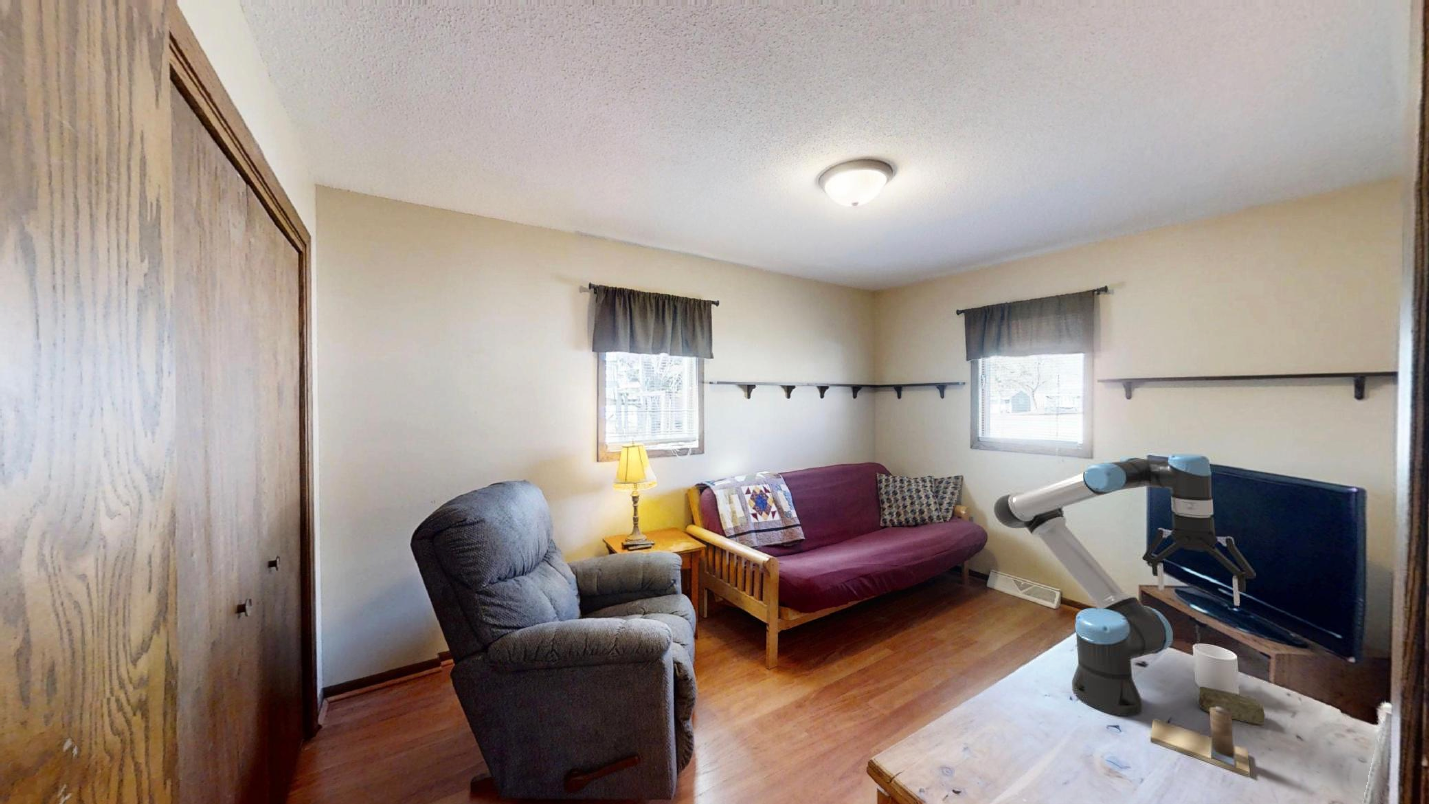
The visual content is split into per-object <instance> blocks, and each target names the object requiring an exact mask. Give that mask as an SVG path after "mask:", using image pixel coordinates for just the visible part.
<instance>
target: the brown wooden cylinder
mask: <svg viewBox="0 0 1429 804" xmlns="http://www.w3.org/2000/svg"><path fill="white" fill-rule="evenodd" d="M1209 720H1210V732H1211V733H1210V734H1211V736H1210V737H1212V748H1213V749H1214V750H1215V751H1216V752H1218V753H1220V754H1222V755H1225V756H1234V748H1233V745H1234V737H1233V723H1232V722H1233V721H1232V720H1233V719H1231V714H1230V713H1229V712H1227V711H1225V710H1224V709H1223V708H1221V707H1211V708H1210V713H1209Z"/></svg>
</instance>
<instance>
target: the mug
mask: <svg viewBox="0 0 1429 804" xmlns="http://www.w3.org/2000/svg"><path fill="white" fill-rule="evenodd" d="M1192 653H1193V654H1192V655H1193V669H1194V671H1193V672H1194V681H1195V684H1196V686H1198V687H1199V688H1200V687H1206V688H1211V689H1215V690H1220V691H1225V692H1230V693H1234V694H1239V695H1240V681H1239V665H1238V656H1237V654H1236V653H1234V652H1233V651H1231V650H1229V649H1226V648H1223V647H1221V646H1218V645H1213V644H1208V643H1195V644H1193V645H1192Z"/></svg>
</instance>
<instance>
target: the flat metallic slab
mask: <svg viewBox="0 0 1429 804" xmlns="http://www.w3.org/2000/svg"><path fill="white" fill-rule="evenodd" d="M1152 719H1153V720H1152V723H1151V725H1152V726H1151V731H1150V742H1151V743H1154V744H1156V745H1159V746H1162V747H1164V748H1167V749H1170V750H1173V751H1177V752H1178V753H1181V754H1184V755H1187V756H1190V757H1193V758H1195V759H1199V760H1201V761H1204V762H1206V763H1209V764H1212V765H1215V766H1217V767H1220V768H1223V769H1226V770H1228V771H1231V772H1235V773H1236V774H1239V775H1243V776H1245V777H1248V778H1251V773H1250V770H1251V769H1250V763H1249V752H1248V749H1246V748H1243V747H1239V746H1237V745H1234V744H1233V748H1234V756H1225V755H1222V754H1220V753H1218V752H1216V751H1215V750H1214V749H1213V748H1212V736H1207V735H1203V734H1201V733H1199V732H1196V731H1193V730H1189V729H1186V728H1183V727H1180V726H1177V725H1175V724H1171V723H1168V722H1166V721H1161V720H1159V719H1156V718H1152Z"/></svg>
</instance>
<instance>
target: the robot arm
mask: <svg viewBox="0 0 1429 804" xmlns="http://www.w3.org/2000/svg"><path fill="white" fill-rule="evenodd" d="M1209 460H1210V459H1209V458H1208V457H1207V456H1205V455H1201V454H1191V453H1189V454H1187V453H1178V454H1176V453H1173V454H1170V455H1169V456H1168V460H1160V459H1159V460H1158V459H1148V458H1140V457H1123V458H1121V459H1120V460H1119V461H1114V462H1113V461H1112V462H1101V463H1097V464H1093V465H1090V466H1089V467H1087V469H1086V470H1084V471H1080V472H1078V473H1075V474H1072V475H1069V476H1067V477H1064V478H1061V479H1058V480H1056V481H1053V482H1050V483H1047V484H1045V485H1042V486H1039V487H1036V488H1033V489H1031V490H1028V491H1026V492H1014V493H1011V494H1006V495H1002V496H1000V497H999V498H998V499H997V500H996V501H995V503H994V506H993V513H994V516H995V518H996V519H997V520H998V521H999V523H1001V524H1002V525H1003V526H1006V527H1008V528H1010V529H1024V528H1026V529H1027V530H1028V532H1029V533H1030V534H1031V535H1032V536H1033V537H1035V538H1039V539H1041V540H1042V541H1043V543H1044V544H1045V545H1046V546H1047V548H1048V549H1050V551H1051V553H1053V555H1054V556H1055V557H1056V558H1057V560H1058V561H1059V562H1060V563H1061V565H1062V566H1063V567H1064V568H1065V570H1066V571H1067V572H1068V573H1069V574H1070V576H1071V577H1072V578H1073V580H1075V582H1076V583H1077V584H1078V586H1079V587H1080V588H1081V589H1082V590H1083V591H1084V592H1085V594H1086V595H1087V596H1088V597H1089V599H1090V600H1091V601H1092V603H1094V605H1095V607H1096V608H1095V607H1090V608H1085V609H1082V610H1080V611H1079V612H1078V613H1077V614H1076V616H1075V626H1074V627H1075V633H1076V648H1077V650H1076V652H1077V662H1078V664H1077V667H1076V669H1075V672H1074V675H1073V677H1072V680H1071V690H1072V693H1073V692H1074V693H1073V695H1075V694H1076V695H1075V697H1076V696H1078V697H1077V699H1078V700H1080V699H1081V700H1082V702H1083V701H1084V702H1085V703H1084V702H1083V703H1084V704H1086V703H1087V704H1086V705H1088V706H1090V707H1091V708H1094V709H1095V710H1099V711H1101V712H1105V713H1108V714H1111V715H1118V716H1125V717H1128V716H1129V717H1130V716H1131V717H1132V716H1138V715H1139V714H1141V713H1142V712H1143V710H1144V709H1143V700H1142V697H1141V695H1140V693H1139V690H1138V687H1137V685H1136V684H1135V681H1134V679H1133V672H1132V670H1133V669H1132V660H1133V659H1137V658H1141V657H1144V656H1147V655H1151V654H1158V653H1160V652H1162V651H1164V650H1166V649H1168V648H1169V647H1170V646H1171V645H1172V643H1173V639H1174V638H1173V635H1174V632H1173V628H1172V627H1171V624H1170V622H1169V621H1168V619H1167V618H1166V617H1165V615H1164V614H1162V613H1161V612H1160V611H1158V610H1157V609H1155V608H1152V607H1151V606H1146V605H1143V603H1142V602H1141V601H1140V600H1139V599H1138V598H1137V597H1136V596H1134V595H1131V594H1128V593H1126V592H1125V591H1123V589H1122V588H1121V587H1120V586H1119V585H1118V583H1116V582H1115V580H1114V579H1113V578H1112V576H1110V574H1109V573H1108V572H1107V571H1106V570H1105V569H1104V568H1103V567H1102V565H1101V564H1100V563H1099V562H1098V560H1096V559H1095V558H1094V556H1093V555H1092V554H1091V553H1090V552H1089V550H1088V549H1086V547H1085V546H1084V545H1083V544H1082V543H1081V541H1080V540H1079V539H1078V538H1077V537H1076V536H1075V535H1074V534H1073V532H1072V531H1071V529H1069V528H1068V527H1067V526H1066V523H1067V519H1066V516H1064V515H1065V513H1064V510H1063V508H1064V507H1068V506H1072V505H1073V504H1077V503H1081V502H1084V501H1086V500H1091V499H1094V498H1096V497H1100V496H1103V495H1108V494H1111V493H1113V492H1114V493H1115V492H1118V491H1122V490H1123V491H1124V490H1127V489H1128V490H1129V489H1135V488H1136V489H1137V488H1143V487H1150V488H1161V489H1167V490H1169V489H1170V498H1171V511H1172V512H1173V513H1172V515H1171V516H1172V518H1171V519H1172V530H1169V529H1165V528H1163V527H1159V528H1158V529H1157V530H1156V537H1155V538H1154V539H1153V541H1152V543H1150V546H1149V547H1148V549H1147V550H1146V551H1145V553H1144V554H1143V556H1142V560H1143V561H1146V562H1148V563H1150V564H1151V571H1152V572H1151V574H1152V576H1155V577H1157V584H1158V585H1157V587H1158V590H1159V591H1164V589H1165V581H1164V580H1165V577H1164V565H1163V564H1164V563H1162V562H1161V561H1163V560H1164V559H1166V558H1167V557H1169V556H1170V555H1172V554H1173V553H1174V552H1176V551H1177V550H1179V549H1180V548H1183V549H1185V550H1186V551H1195V552H1196V551H1197V552H1199V553H1200V552H1201V553H1203V552H1208V553H1209V554H1210V555H1211V556H1212V557H1214V558H1215V559H1216V560H1217V561H1218V562H1220V564H1221V565H1223V566H1224V567H1225V568H1226V569H1227V570H1228V571H1229V572H1230V573H1231V574H1233V576H1232V587H1233V590H1232V591H1233V604H1234V606H1236V607H1237V606H1238V607H1239V606H1240V604H1241V603H1240V601H1241V600H1240V592H1241V593H1245V592H1246V588H1247V587H1246V580H1247V579H1251V580H1254V579H1255V578H1256V574H1257V573H1256V572H1255V570H1254V569H1253V568H1252V566H1251V565H1250V564H1249V562H1248V561H1247V560H1246V559H1245V557H1244V555H1242V553H1241V552H1240V550H1239V549H1238V548H1237V546H1236V545H1235V539H1234V537H1233V536H1230V535H1228V536H1217V535H1216V532H1215V519H1214V517H1213V516H1212V515H1214V505H1213V503H1214V502H1213V497H1212V496H1213V495H1212V493H1213V492H1212V470H1211V467H1210V461H1209ZM1169 536H1171V537H1172V538H1173V539H1174V540H1175V542H1173V543H1172V544H1171V545H1170V546H1168V547H1167V548H1166V549H1165V550H1163V551H1161V552H1160V553H1159V554H1157V555H1156V556H1155V557H1153V556H1152V555H1153V554H1154V552H1155V551H1156V550H1157V548H1158V546H1159V545H1160V544H1161V542H1162V541H1163V539H1167V538H1168V537H1169ZM1218 542H1219V543H1221V544H1222V546H1223V547H1227V549H1228V551H1229V553H1230V554H1231V556H1232V557H1233V558H1234V560H1235V561H1236V562H1237V564H1238V565H1239V566H1240V567H1241V569H1242V570H1241V569H1240V568H1239V567H1237V566H1236V565H1235V564H1234V563H1233V562H1232V561H1231V560H1230V559H1228V558H1227V557H1226V556H1225V555H1224V554H1223V553H1222V552H1221V551H1220V550H1219V549H1218V548H1217V547H1216V546H1215V545H1216V544H1217V543H1218ZM1081 700H1080V701H1081Z"/></svg>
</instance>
